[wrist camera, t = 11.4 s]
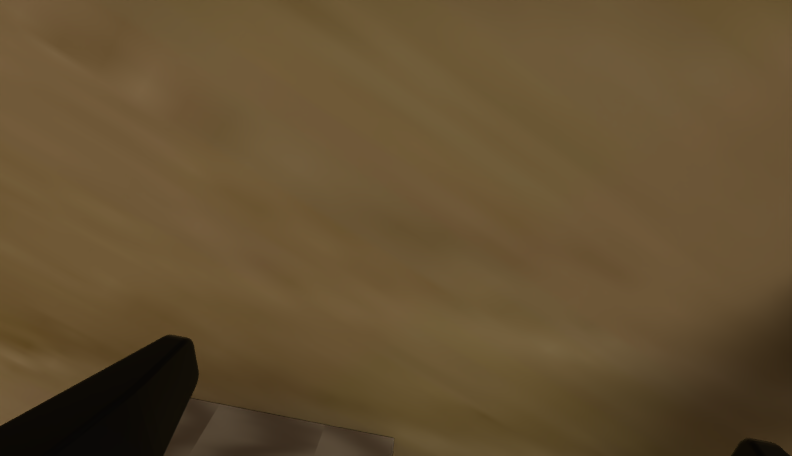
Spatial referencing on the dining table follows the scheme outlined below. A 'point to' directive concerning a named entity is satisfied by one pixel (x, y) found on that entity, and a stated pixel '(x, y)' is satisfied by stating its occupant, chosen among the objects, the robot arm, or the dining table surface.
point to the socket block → (265, 435)
